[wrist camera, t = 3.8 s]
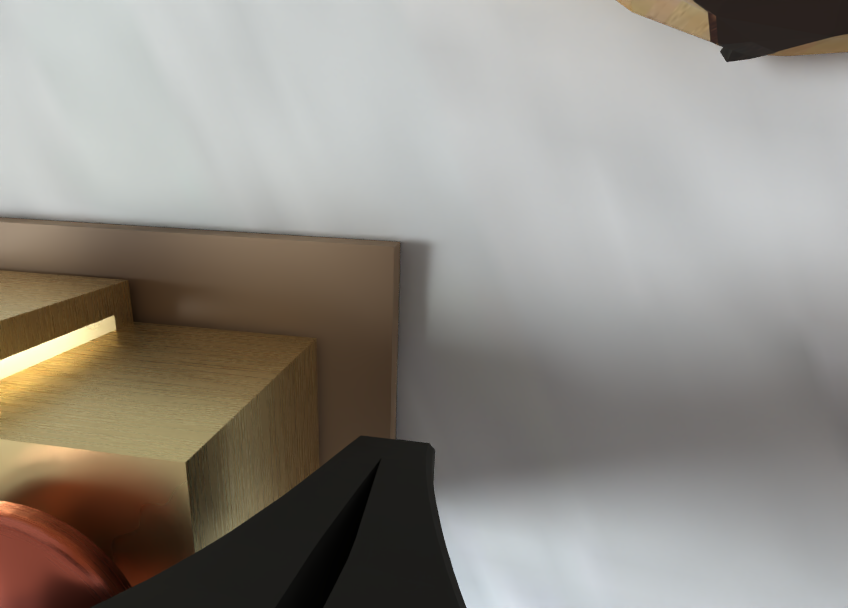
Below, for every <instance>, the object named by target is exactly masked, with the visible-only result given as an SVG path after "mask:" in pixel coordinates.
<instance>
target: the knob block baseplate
mask: <svg viewBox="0 0 848 608" xmlns="http://www.w3.org/2000/svg"><path fill="white" fill-rule="evenodd" d="M0 270H3V271H16V272H29V273H42V274H55V275H68V276H81V277H94V278H107V279H120V280H128V282H129V290H130V298H131V306H132V314H133V322H140V323H152V324H163V325H174V326H185V327H197V328H208V329H219V330H230V331H242V332H253V333H264V334H275V335H287V336H298V337H309V338H317V383H318V428H319V468H320V467H321V466H322V465H323V464H325V463H326V462H327V461H328V460H330V459H331V458H332V457H333V456H335V455H336V454H337V453H338V452H340V451H341V450H342V449H344V448H345V447H346V446H347V445H349V444H350V443H351V442H353V441H354V440H355V439H357V438H358V437H359V436H361V435H362V436H371V437H379V438H388V439H396V399H397V359H398V318H399V278H400V242H393V241H377V240H361V239H344V238H328V237H312V236H295V235H279V234H263V233H247V232H230V231H214V230H198V229H181V228H165V227H149V226H132V225H116V224H100V223H83V222H67V221H51V220H34V219H18V218H2V217H0Z"/></svg>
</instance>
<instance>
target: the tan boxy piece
mask: <svg viewBox="0 0 848 608" xmlns="http://www.w3.org/2000/svg"><path fill="white" fill-rule="evenodd" d="M318 468H319V428H318V383H317V338H309V337H298V336H287V335H275V334H264V333H253V332H242V331H230V330H219V329H208V328H197V327H185V326H174V325H163V324H152V323H140V322H133V314H132V306H131V298H130V290H129V282H128V280H120V279H107V278H94V277H81V276H68V275H55V274H42V273H29V272H16V271H3V270H0V608H90V607H92V606H94V605H96V604H98V603H100V602H103V601H105V600H107V599H109V598H111V597H113V596H115V595H117V594H119V593H121V592H123V591H125V590H127V589H129V588H131V587H133V586H135V585H137V584H139V583H141V582H144V581H145V580H147V579H149V578H151V577H153V576H155V575H157V574H159V573H160V572H162V571H164V570H166V569H168V568H169V567H171V566H173V565H175V564H176V563H178V562H180V561H182V560H183V559H185V558H187V557H189V556H191V555H192V554H194V553H196V552H198V551H199V550H201V549H203V548H204V547H206V546H208V545H209V544H211V543H213V542H214V541H216V540H218V539H219V538H221V537H222V536H224V535H226V534H227V533H229V532H230V531H232V530H233V529H235V528H236V527H238V526H239V525H241V524H242V523H244V522H245V521H247V520H248V519H249V518H251V517H252V516H254V515H255V514H257V513H258V512H260V511H261V510H263V509H264V508H266V507H267V506H269V505H270V504H271V503H273V502H274V501H276V500H277V499H279V498H280V497H282V496H283V495H284V494H286V493H287V492H288V491H290V490H291V489H292V488H294V487H295V486H296V485H298V484H299V483H300V482H301V481H303V480H304V479H305V478H307V477H308V476H309V475H311V474H312V473H313V472H315V471H316V470H317V469H318Z"/></svg>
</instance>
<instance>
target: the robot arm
mask: <svg viewBox="0 0 848 608" xmlns="http://www.w3.org/2000/svg"><path fill="white" fill-rule="evenodd" d="M434 461H435V450H434V448H433V447H432V446H431V445H430V444H429V443H422V442H414V441H405V440H396V439H388V438H379V437H371V436H362V435H361V436H359V437H358V438H357V439H355V440H354V441H353V442H351V443H350V444H349V445H347V446H346V447H345V448H344V449H342V450H341V451H340V452H338V453H337V454H336V455H335V456H333V457H332V458H331V459H330V460H328V461H327V462H326V463H325V464H323V465H322V466H321V467H320V468H318V469H317V470H316V471H315V472H313V473H312V474H311V475H309V476H308V477H307V478H305V479H304V480H303V481H301V482H300V483H299V484H298V485H296V486H295V487H294V488H292V489H291V490H290V491H288V492H287V493H286V494H284V495H283V496H282V497H280V498H279V499H277V500H276V501H274V502H273V503H271V504H270V505H269V506H267V507H266V508H264V509H263V510H261V511H260V512H258V513H257V514H255V515H254V516H252V517H251V518H249V519H248V520H247V521H245V522H244V523H242V524H241V525H239V526H238V527H236V528H235V529H233V530H232V531H230V532H229V533H227V534H226V535H224V536H222V537H221V538H219V539H218V540H216V541H214V542H213V543H211V544H209V545H208V546H206V547H204V548H203V549H201V550H199V551H198V552H196V553H194V554H192V555H191V556H189V557H187V558H185V559H183V560H182V561H180V562H178V563H176V564H175V565H173V566H171V567H169V568H168V569H166V570H164V571H162V572H160V573H159V574H157V575H155V576H153V577H151V578H149V579H147V580H145V581H144V582H141V583H139V584H137V585H135V586H133V587H131V588H129V589H127V590H125V591H123V592H121V593H119V594H117V595H115V596H113V597H111V598H109V599H107V600H105V601H103V602H100V603H98V604H96V605H94V606H92V607H90V608H466V605H465V603H464V600H463V597H462V594H461V592H460V589H459V586H458V583H457V580H456V577H455V574H454V571H453V568H452V564H451V561H450V558H449V554H448V551H447V548H446V544H445V540H444V536H443V533H442V528H441V524H440V519H439V514H438V510H437V505H436V500H435V494H434V485H433V480H434Z"/></svg>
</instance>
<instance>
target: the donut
mask: <svg viewBox="0 0 848 608" xmlns="http://www.w3.org/2000/svg"><path fill="white" fill-rule="evenodd" d="M616 1H618V2H619V3H620V4H622V5H623V6H625V7H626V8H627V9H629V10H630V11H632V12H633V13H636V14H638V15H641V16H644V17H646V18H649V19H652V20H654V21H657V22H660V23H662V24H665V25H668V26H670V27H673V28H676V29H678V30H681V31H684V32H686V33H689V34H692V35H694V36H697V37H700V38H702V39H705V40H707V41H710V42H713V43H715V44H717V45H719V46H722V47H723V48H722V50H721V51H720V52H721V54H722V55H723V57H724V59H725V60H726V62H730V61H738V60H745V59H751V58H756V57H760V56H765V55H775V56H795V55H809V54H824V53H839V52H848V0H616Z"/></svg>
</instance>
